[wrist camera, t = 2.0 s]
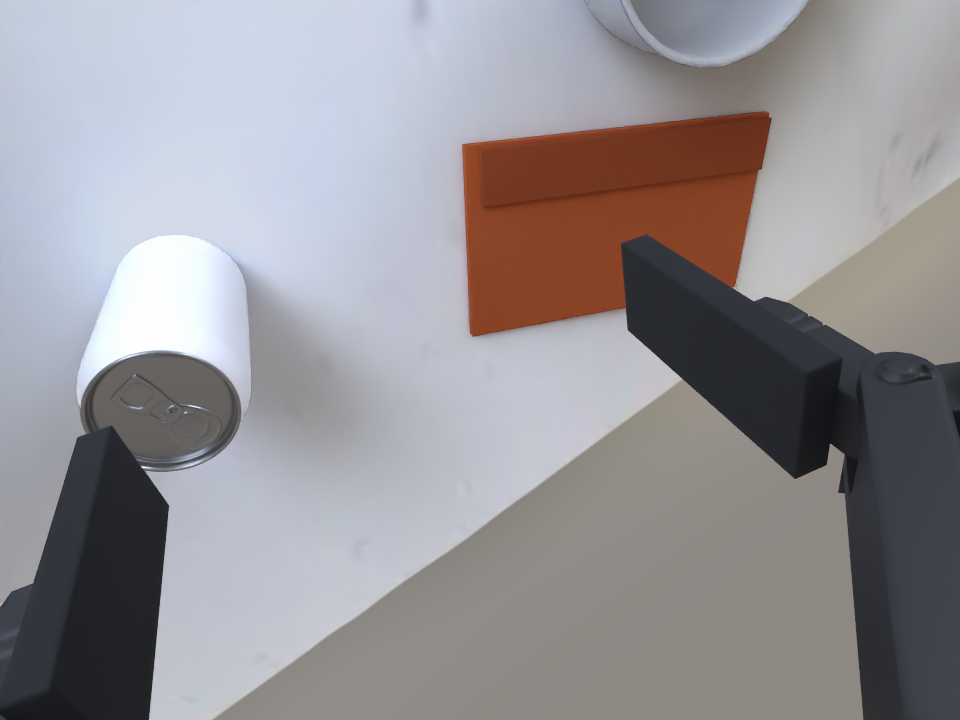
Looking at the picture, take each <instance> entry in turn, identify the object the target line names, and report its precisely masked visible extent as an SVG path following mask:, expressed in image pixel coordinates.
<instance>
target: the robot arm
mask: <svg viewBox="0 0 960 720" xmlns="http://www.w3.org/2000/svg"><path fill="white" fill-rule="evenodd" d="M621 253H622V265H623V277H624V290H625V302H626V314H627V326H628V331H629V332H631V333H632V334H633V335H634V336H635V337H636V338H637V339H638V340H640V341H641V342H642V343H643V344H644V345H645V346H646V347H647V348H649V349H650V350H651V351H652V352H653V353H654V354H655V355H656V356H658V357H659V358H660V359H661V360H662V361H663V362H664V363H665V364H667V365H668V366H669V367H670V368H671V369H672V370H673V371H674V372H675V373H677V374H678V375H679V376H680V377H681V378H682V379H683V380H684V381H686V382H687V383H688V384H689V385H690V386H691V387H692V388H694V389H695V390H696V391H697V392H698V393H699V394H701V396H702V397H704V398H705V399H706V400H707V401H708V402H709V403H710V404H711V405H713V406H714V407H715V408H716V409H717V410H718V411H719V412H720V413H722V414H723V415H724V416H725V417H726V418H728V420H729V421H731V422H732V423H733V424H734V425H735V426H736V427H737V428H738V429H739V430H741V431H742V432H743V433H744V434H745V435H746V436H747V437H749V438H750V439H751V440H752V441H753V442H754V443H755V444H756V445H757V446H759V447H760V448H761V449H762V450H763V451H764V452H765V453H767V454H768V455H769V456H770V457H771V458H772V459H773V460H774V461H775V462H777V463H778V464H779V465H780V466H781V467H782V468H783V469H784V470H786V471H787V472H788V473H789V474H790V475H791V476H792V477H793V478H794V479H796V478H798V477H801V476H803V475H805V474H807V473H810V472H812V471H814V470H816V469H818V468H821V467H823V466H825V465H827V459H828V453H829V446H830V443H831V444H832V445H833V446H835V447H836V448H837V449H839V450H840V451H841V452H842V453H844V454H845V457H844V463H843V468H842V474H841V480H840V485H839V491H838V492H839V493H845V500H846V512H847V524H848V535H849V549H850V560H851V573H852V584H853V596H854V609H855V621H856V632H857V633H856V634H857V646H858V657H859V670H860V682H861V694H862V707H863V719H864V720H960V362H956V363H949V364H941V365H934V364H932V363H931V362H929V361H928V360H927V359H924V358H922V357H919V356H916V355H913V354H908V353H901V352H885V353H878V354H874V353H873V352H871V351H869V350H868V349H866V348H864V347H862V346H861V345H859V344H857V343H856V342H854V341H852V340H851V339H849V338H847V337H846V336H844V335H842V334H841V333H839V332H837V331H835V330H834V329H832V328H830V327H829V326H827V325H824V326H823V324H822V322H820V321H819V320H817V319H815V318H814V317H812V316H810V317H809V316H808V314H806V313H805V312H803V311H802V310H800V309H798V308H797V307H795V306H793V305H791V304H790V303H786V302H783V301H779V300H776V299H772V298H768V297H765V298H762V299H759V300H757V301H752V300H750V299H749V298H747V297H746V296H744V295H743V294H741V293H739V292H738V291H736V290H735V289H733V288H731V287H730V286H728V285H727V284H725V283H723V282H722V281H720V280H719V279H717V278H715V277H714V276H712V275H711V274H709V273H707V272H706V271H704V270H703V269H701V268H699V267H698V266H696V265H695V264H693V263H691V262H690V261H688V260H687V259H685V258H684V257H682V256H680V255H679V254H677V253H676V252H674V251H672V250H671V249H669V248H668V247H666V246H664V245H663V244H661V243H660V242H658V241H656V240H655V239H653V238H652V237H650V236H648V235H647V234H646V235H643V236H640V237H637V238H635V239H632V240H629V241H626V242H623V243H621ZM168 511H169V505H168V503H167V502H166V501H165V499H164V498H163V496H162V495H161V494H160V492H159V491H158V489H157V488H156V487H155V485H154V484H153V482H152V481H151V480H150V478H149V477H148V475H147V474H146V473H145V471H144V470H143V468H142V467H141V466H140V464H139V463H138V461H137V460H136V459H135V457H134V456H133V454H132V453H131V452H130V450H129V449H128V447H127V446H126V444H125V443H124V442H123V440H122V439H121V437H120V436H119V435H118V433H117V432H116V430H115V429H114V428H113V426H112V425H111V426H108V427H105V428H103V429H100V430H97V431H94V432H91V433H89V434H86V435H83V436H80V437H77V441H76V444H75V447H74V451H73V454H72V457H71V461H70V464H69V467H68V471H67V474H66V477H65V480H64V484H63V487H62V490H61V494H60V497H59V500H58V504H57V507H56V510H55V514H54V517H53V520H52V523H51V527H50V530H49V533H48V537H47V540H46V543H45V547H44V550H43V553H42V557H41V560H40V563H39V566H38V570H37V573H36V576H35V580H34V583H33V584H30V585H28V586H25V587H23V588H20V589H18V590H15V591H12V592H11V593H10V595H9V596H8V597H7V599H6V600H5V602H4V603H3V604H2V606H1V607H0V720H149V713H150V702H151V691H152V681H153V670H154V660H155V649H156V638H157V628H158V617H159V607H160V596H161V585H162V575H163V564H164V553H165V543H166V532H167V522H168Z"/></svg>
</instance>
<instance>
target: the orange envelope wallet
mask: <svg viewBox="0 0 960 720" xmlns="http://www.w3.org/2000/svg"><path fill="white" fill-rule="evenodd" d="M771 119H772V118H770V117H769V113H768V112H756V113H747V114H737V115H728V116H719V117H710V118H701V119H691V120H682V121H673V122H664V123H655V124H645V125H636V126H627V127H618V128H609V129H599V130H590V131H581V132H572V133H563V134H553V135H544V136H535V137H526V138H517V139H507V140H498V141H489V142H480V143H470V144H463V145H462V149H463V173H464V197H465V221H466V245H467V269H468V292H469V316H470V334H471V335H472V336H478V335H483V334H489V333H494V332H499V331H504V330H510V329H515V328H520V327H526V326H531V325H536V324H542V323H547V322H552V321H557V320H563V319H568V318H573V317H579V316H584V315H589V314H594V313H600V312H605V311H610V310H616V309H621V308H626V302H625V290H624V277H623V265H622V253H621V243H623V242H626V241H629V240H632V239H635V238H637V237H640V236H643V235H646V234H647V235H648V236H650V237H652V238H653V239H655V240H656V241H658V242H660V243H661V244H663V245H664V246H666V247H668V248H669V249H671V250H672V251H674V252H676V253H677V254H679V255H680V256H682V257H684V258H685V259H687V260H688V261H690V262H691V263H693V264H695V265H696V266H698V267H699V268H701V269H703V270H704V271H706V272H707V273H709V274H711V275H712V276H714V277H715V278H717V279H719V280H720V281H722V282H723V283H725V284H727V285H728V286H730V287H731V288H732V287H735V284H736V279H737V274H738V269H739V264H740V259H741V254H742V249H743V244H744V239H745V234H746V229H747V224H748V219H749V214H750V209H751V204H752V198H753V193H754V188H755V183H756V178H757V173H758V170H761V169H762V164H763V159H764V154H765V149H766V144H767V139H768V134H769V129H770V124H771Z"/></svg>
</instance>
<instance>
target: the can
mask: <svg viewBox="0 0 960 720" xmlns="http://www.w3.org/2000/svg"><path fill="white" fill-rule="evenodd" d="M76 394H77V400H78V404H79V407H80V416H81V421H82V425H83V428H84V430H85V432H86V434H89V433H91V432H94V431H97V430H100V429H103V428H105V427H108V426H111V425H112V426H113V428H114V429H115V430H116V432H117V433H118V435H119V436H120V437H121V439H122V440H123V442H124V443H125V444H126V446H127V447H128V449H129V450H130V452H131V453H132V454H133V456H134V457H135V459H136V460H137V461H138V463H139V464H140V466H141V467H142V468H143V470H145V471H155V472H168V471H177V470H183V469H187V468H191V467H194V466H197V465H199V464H202V463H204V462H206V461H208V460H210V459H211V458H213V457H215V456H216V455H217V454H219V453H220V452H221V451H222V450H223V449H225V448H226V447H227V445H228V444H229V443H230V442H231V441H232V439H233V438H234V436H235V434H236V432H237V430H238V428H239V424H240V422H241V420H242V419H243V417H244V415H245V413H246V411H247V408H248V405H249V401H250V394H251V366H250V344H249V325H248V307H247V293H246V286H245V282H244V279H243V276H242V274H241V272H240V270H239V268H238V267H237V265H236V264H235V262H234V261H233V260H232V259H231V258H230V257H229V256H228V255H227V254H226V253H225V252H224V251H222V250H221V249H219V248H218V247H216V246H215V245H213V244H211V243H209V242H207V241H204V240H201V239H198V238H195V237H190V236H184V235H167V236H160V237H156V238H152V239H150V240H147V241H145V242H143V243H141V244H139V245H137V246H136V247H134V248H133V249H132V250H131V251H130V252H129V253H128V254H127V255H126V256H125V257H124V258H123V260H122V261H121V262H120V264H119V266H118V268H117V270H116V272H115V275H114V277H113V279H112V282H111V284H110V287H109V290H108V292H107V295H106V297H105V300H104V303H103V305H102V308H101V310H100V313H99V316H98V318H97V321H96V323H95V326H94V329H93V331H92V334H91V337H90V339H89V342H88V345H87V348H86V350H85V353H84V356H83V359H82V362H81V365H80V368H79V371H78V376H77V383H76Z"/></svg>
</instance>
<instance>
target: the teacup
mask: <svg viewBox="0 0 960 720" xmlns="http://www.w3.org/2000/svg"><path fill="white" fill-rule="evenodd" d="M809 1H810V0H585V2H586V4H587V6H588V7H589V9H590V11H591V12H592V14H593V15H594V16H595V18H596V19H597V20H598V21H599V22H600V23H601V24H602V25H603V26H604V27H605V28H606V30H608V31H609V32H610V33H612V34H613V35H614V36H615V37H617V38H618V39H620V40H622V41H624V42H625V43H627V44H629V45H632V46H634V47H636V48H639V49H642V50H644V51H647V52H650V53H653V54H657V55H660V56H662V57H664V58H666V59H668V60H670V61H673V62H675V63H678V64H680V65H683V66H690V67H696V68H709V67H721V66H727V65H729V64H732V63H735V62H738V61H741V60H743V59H745V58H747V57H750V56H752V55H753V54H755V53H757V52H758V51H760V50H762V49H763V48H765V47H766V46H767V45H769V44H770V43H772V42H773V41H774V40H776V39H777V38H778V37H779V36H780V35H781V34H782V33H783V32H784V31H785V30H786V29H787V28H788V27H789V26H790V25H791V24H792V23H793V22H794V21H795V20H796V18H797V17H798V16H799V15H800V14H801V12H802V11H803V9H804V8H805V6H806V5H807V4H808V3H809Z"/></svg>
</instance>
